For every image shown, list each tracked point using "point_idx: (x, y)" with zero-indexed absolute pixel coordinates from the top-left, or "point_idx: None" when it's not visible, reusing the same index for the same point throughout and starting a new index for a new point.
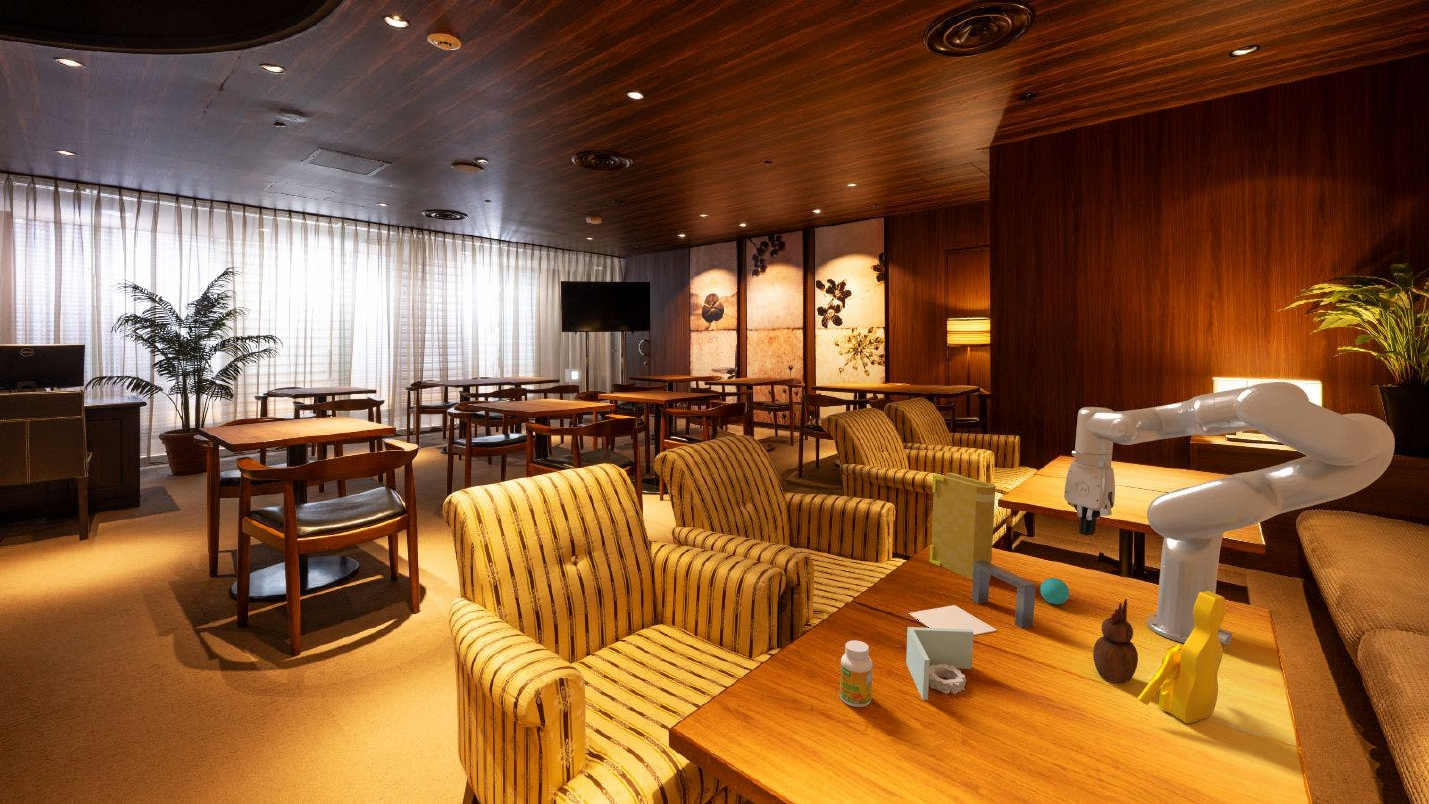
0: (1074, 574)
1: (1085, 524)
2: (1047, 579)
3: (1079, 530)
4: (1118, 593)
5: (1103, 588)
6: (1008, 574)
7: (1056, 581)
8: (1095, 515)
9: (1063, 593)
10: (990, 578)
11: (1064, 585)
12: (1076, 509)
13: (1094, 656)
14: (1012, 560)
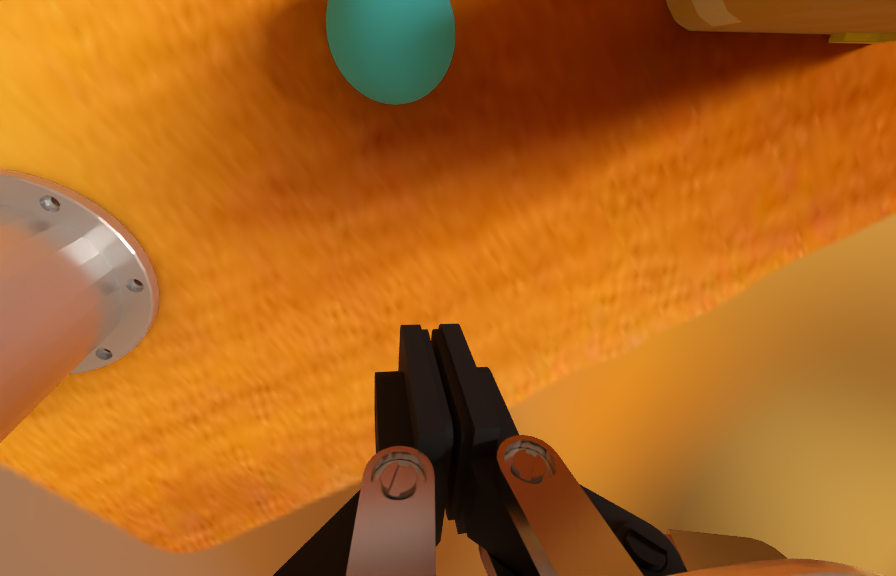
0: (524, 347)
1: (413, 389)
2: (428, 2)
3: (460, 336)
4: (369, 349)
5: None
6: None
7: (375, 4)
8: (313, 555)
9: (327, 9)
10: (671, 3)
11: (347, 39)
12: (615, 515)
13: None
14: (692, 264)
